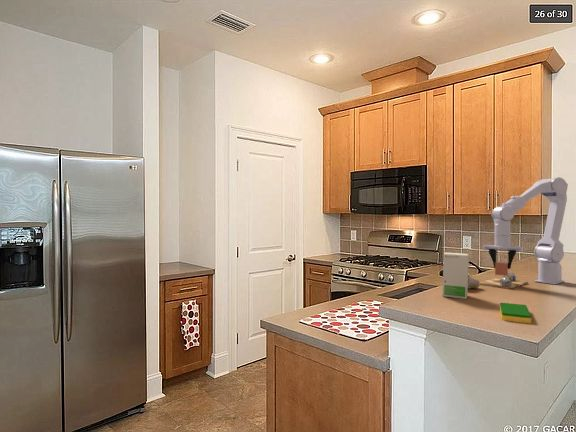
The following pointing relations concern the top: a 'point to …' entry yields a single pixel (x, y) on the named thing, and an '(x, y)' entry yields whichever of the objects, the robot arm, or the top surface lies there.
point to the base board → (496, 283)
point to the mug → (473, 282)
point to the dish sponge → (515, 312)
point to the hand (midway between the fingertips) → (502, 267)
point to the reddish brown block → (501, 268)
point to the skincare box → (455, 275)
